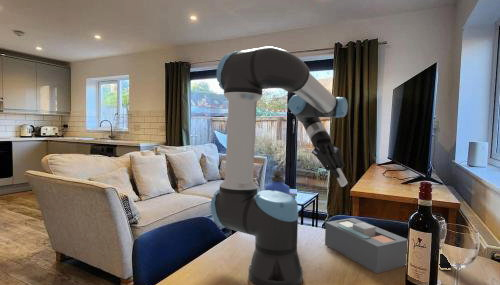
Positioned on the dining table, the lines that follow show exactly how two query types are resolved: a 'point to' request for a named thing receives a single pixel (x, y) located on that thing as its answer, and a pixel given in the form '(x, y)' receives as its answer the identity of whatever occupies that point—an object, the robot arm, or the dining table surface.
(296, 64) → the robot arm
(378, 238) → the terracotta key
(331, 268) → the dining table surface
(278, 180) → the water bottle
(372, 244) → the grey boxy piece
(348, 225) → the ivory key
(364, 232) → the grey key
